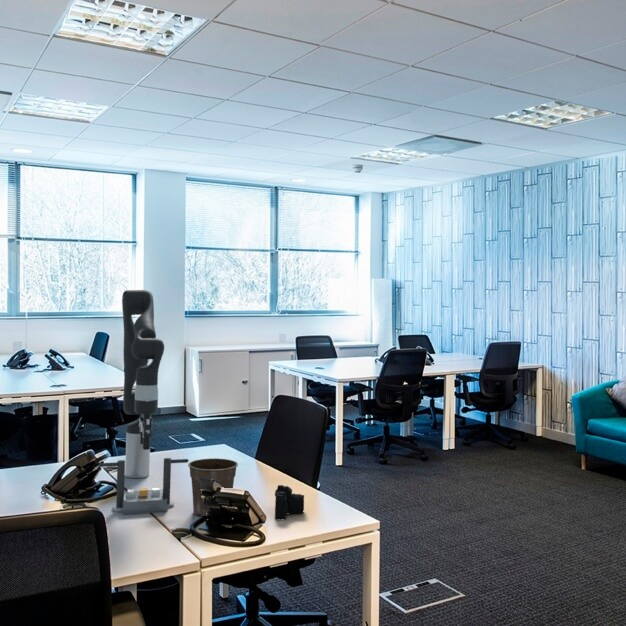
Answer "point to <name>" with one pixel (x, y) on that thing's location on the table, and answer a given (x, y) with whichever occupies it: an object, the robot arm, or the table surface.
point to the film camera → (287, 502)
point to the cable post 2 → (169, 477)
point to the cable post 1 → (118, 482)
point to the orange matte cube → (143, 492)
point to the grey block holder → (144, 502)
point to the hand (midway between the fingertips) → (144, 446)
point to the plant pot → (210, 477)
